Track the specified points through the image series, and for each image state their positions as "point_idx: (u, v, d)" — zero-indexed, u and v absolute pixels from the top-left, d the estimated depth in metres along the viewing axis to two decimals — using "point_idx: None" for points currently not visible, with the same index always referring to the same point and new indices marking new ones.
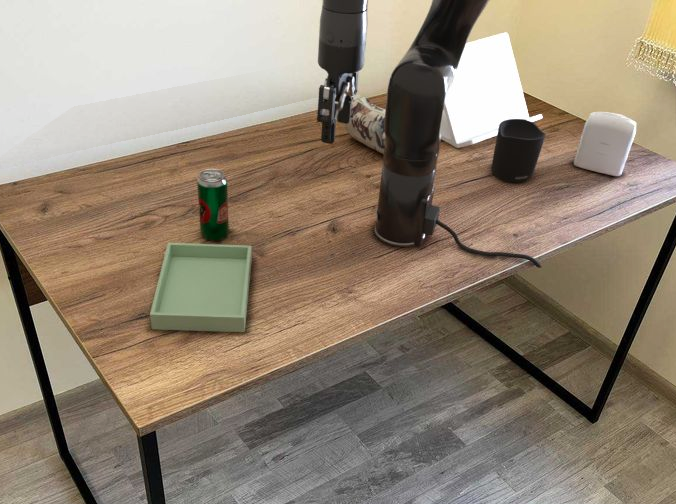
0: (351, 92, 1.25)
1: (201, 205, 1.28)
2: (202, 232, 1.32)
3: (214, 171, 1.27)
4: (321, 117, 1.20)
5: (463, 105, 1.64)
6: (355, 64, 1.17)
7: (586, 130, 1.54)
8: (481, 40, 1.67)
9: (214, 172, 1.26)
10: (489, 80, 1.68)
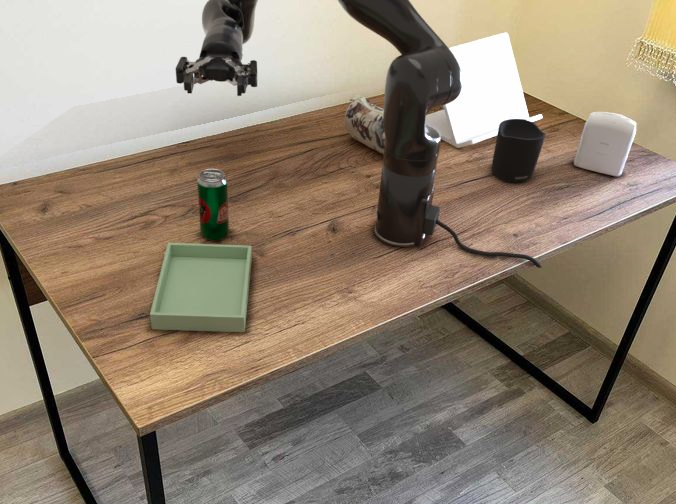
0: (231, 66, 1.31)
1: (201, 205, 1.28)
2: (202, 232, 1.32)
3: (214, 171, 1.27)
4: None
5: (463, 105, 1.64)
6: (207, 41, 1.34)
7: (586, 130, 1.54)
8: (481, 40, 1.67)
9: (214, 172, 1.26)
10: (489, 80, 1.68)
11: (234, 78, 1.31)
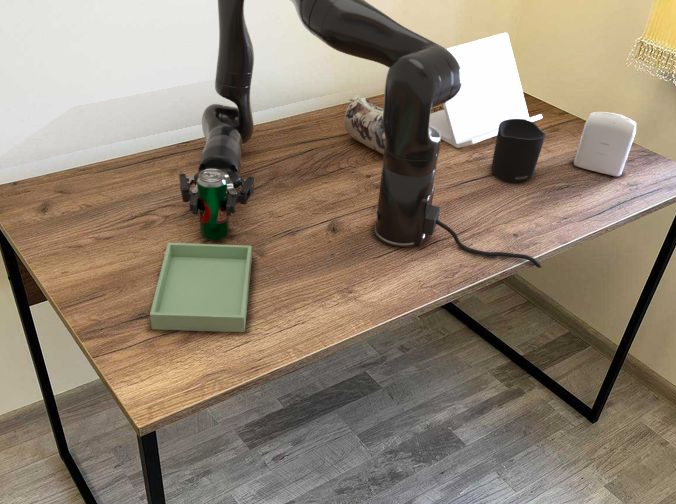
0: None
1: (201, 205, 1.28)
2: (202, 232, 1.32)
3: (214, 171, 1.27)
4: None
5: (463, 105, 1.64)
6: (206, 155, 1.35)
7: (586, 130, 1.54)
8: (481, 40, 1.67)
9: (214, 172, 1.26)
10: (489, 80, 1.68)
11: None
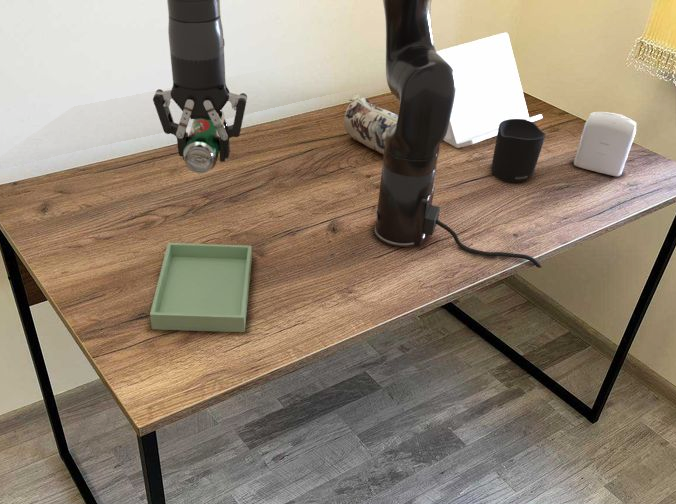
0: (212, 121, 1.10)
1: None
2: None
3: (200, 153, 1.09)
4: None
5: (463, 105, 1.64)
6: (179, 77, 1.04)
7: (586, 130, 1.54)
8: (481, 40, 1.67)
9: (201, 154, 1.09)
10: (489, 80, 1.68)
11: None
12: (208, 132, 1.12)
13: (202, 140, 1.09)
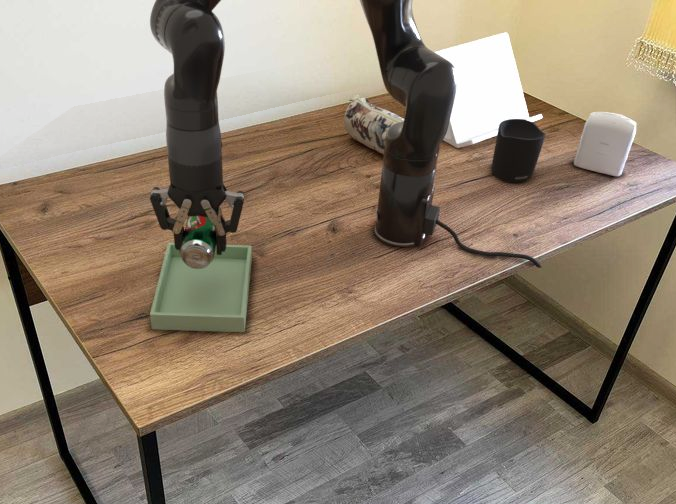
0: (209, 218, 1.09)
1: None
2: None
3: (198, 251, 1.09)
4: None
5: (463, 105, 1.64)
6: (177, 180, 1.03)
7: (586, 130, 1.54)
8: (481, 40, 1.67)
9: (198, 252, 1.09)
10: (489, 80, 1.68)
11: None
12: (204, 227, 1.11)
13: (199, 238, 1.09)
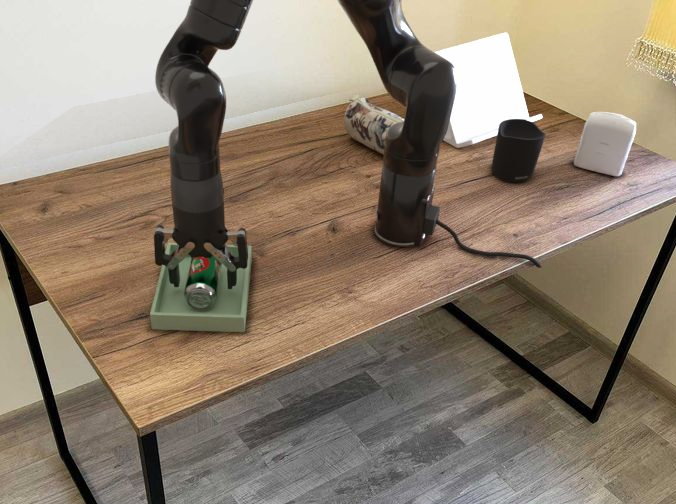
0: (216, 258, 1.14)
1: None
2: None
3: (201, 293, 1.14)
4: None
5: (463, 105, 1.64)
6: (181, 226, 1.08)
7: (586, 130, 1.54)
8: (481, 40, 1.67)
9: (201, 295, 1.14)
10: (489, 80, 1.68)
11: None
12: (208, 270, 1.16)
13: (203, 282, 1.14)
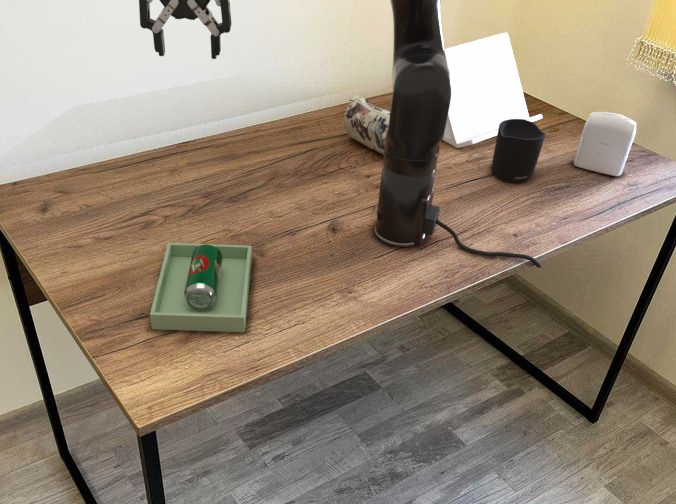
0: (200, 19, 1.17)
1: None
2: None
3: (201, 293, 1.14)
4: None
5: (463, 105, 1.64)
6: None
7: (586, 130, 1.54)
8: (481, 40, 1.67)
9: (201, 295, 1.14)
10: (489, 80, 1.68)
11: None
12: (208, 270, 1.16)
13: (203, 282, 1.14)
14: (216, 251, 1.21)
